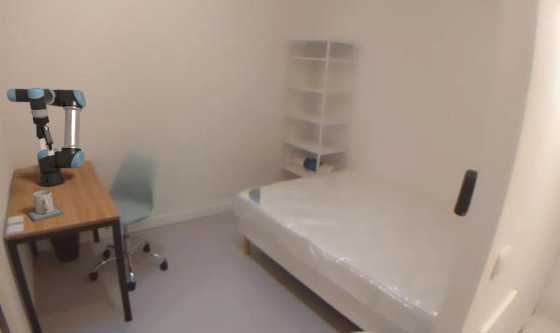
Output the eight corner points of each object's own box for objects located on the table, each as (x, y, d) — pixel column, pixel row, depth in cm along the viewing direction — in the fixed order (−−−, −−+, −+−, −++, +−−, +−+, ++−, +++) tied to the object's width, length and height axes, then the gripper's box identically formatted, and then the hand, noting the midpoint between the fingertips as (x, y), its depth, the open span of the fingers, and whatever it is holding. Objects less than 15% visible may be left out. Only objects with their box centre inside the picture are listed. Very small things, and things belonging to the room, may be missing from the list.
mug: (34, 210, 193) (30, 192, 190) (51, 206, 199) (48, 188, 196) (40, 218, 186) (36, 199, 182) (58, 213, 192) (55, 195, 188)
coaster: (27, 214, 192) (27, 212, 191) (55, 206, 202) (55, 204, 202) (34, 222, 184) (34, 220, 183) (63, 214, 194) (63, 212, 194)
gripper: (25, 113, 199) (32, 148, 206) (40, 121, 184) (47, 159, 191) (40, 111, 204) (47, 146, 212) (55, 119, 189) (62, 156, 197)
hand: (47, 152), depth 202 cm, fingers open, 13 cm apart
